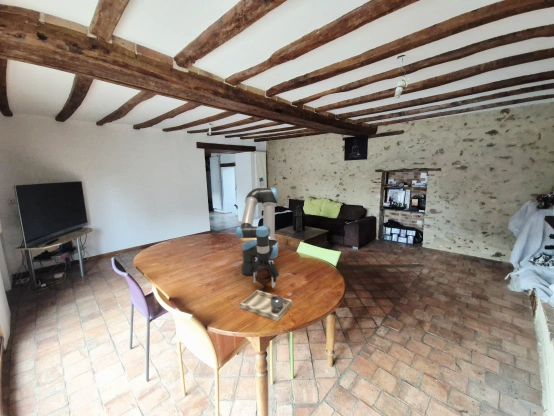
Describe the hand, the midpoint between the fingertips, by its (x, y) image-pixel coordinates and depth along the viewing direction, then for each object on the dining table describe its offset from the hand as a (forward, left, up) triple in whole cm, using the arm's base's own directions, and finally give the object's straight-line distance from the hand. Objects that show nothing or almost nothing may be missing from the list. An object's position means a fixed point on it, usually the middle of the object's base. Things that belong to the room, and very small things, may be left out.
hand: (264, 284), depth 141 cm
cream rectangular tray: (+11, -15, -4) cm, 19 cm away
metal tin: (+18, -15, -3) cm, 23 cm away
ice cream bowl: (0, 0, -5) cm, 5 cm away
